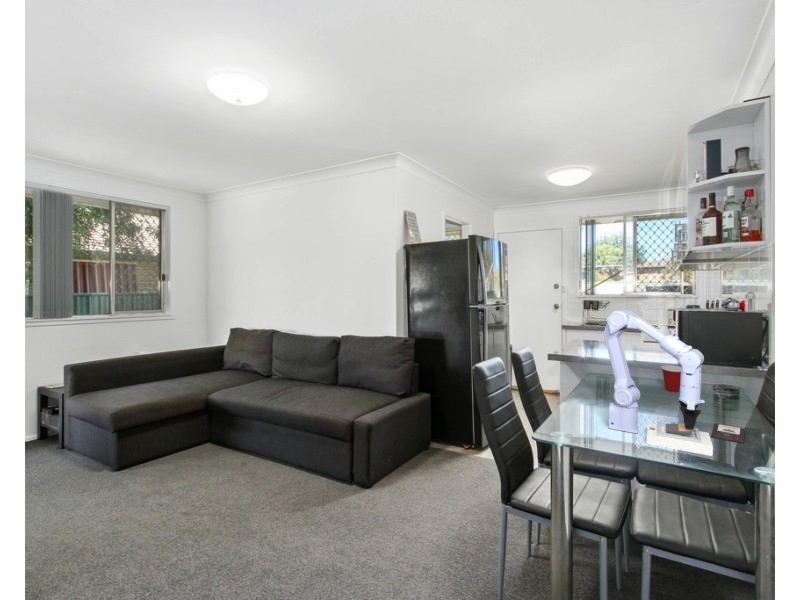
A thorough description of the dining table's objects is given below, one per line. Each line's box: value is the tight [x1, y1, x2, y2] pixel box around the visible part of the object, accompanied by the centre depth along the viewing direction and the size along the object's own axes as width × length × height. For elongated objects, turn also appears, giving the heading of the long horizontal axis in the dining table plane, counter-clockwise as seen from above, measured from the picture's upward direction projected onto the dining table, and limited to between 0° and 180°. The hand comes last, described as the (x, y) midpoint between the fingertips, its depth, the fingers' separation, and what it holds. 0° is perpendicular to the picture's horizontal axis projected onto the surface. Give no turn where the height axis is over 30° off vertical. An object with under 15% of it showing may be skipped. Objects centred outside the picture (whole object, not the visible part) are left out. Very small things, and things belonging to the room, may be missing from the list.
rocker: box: [666, 422, 692, 436], centre depth 143 cm, size 7×9×2 cm
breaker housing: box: [645, 421, 714, 457], centre depth 143 cm, size 18×15×4 cm
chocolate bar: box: [710, 423, 746, 445], centre depth 152 cm, size 9×1×18 cm
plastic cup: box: [660, 364, 682, 393], centre depth 214 cm, size 11×11×12 cm
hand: (688, 425), depth 141 cm, fingers open, 7 cm apart
